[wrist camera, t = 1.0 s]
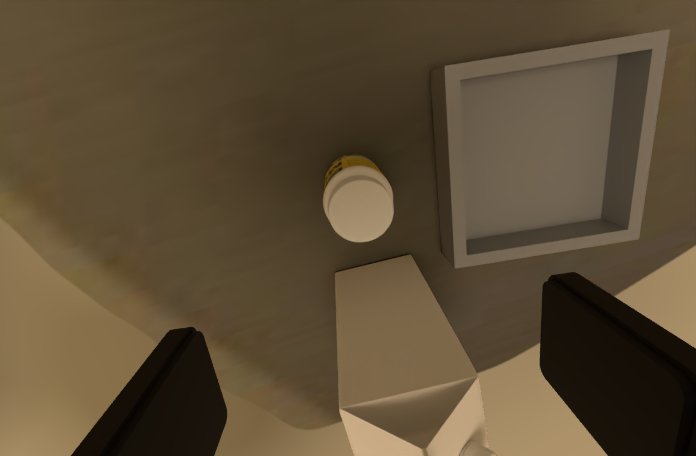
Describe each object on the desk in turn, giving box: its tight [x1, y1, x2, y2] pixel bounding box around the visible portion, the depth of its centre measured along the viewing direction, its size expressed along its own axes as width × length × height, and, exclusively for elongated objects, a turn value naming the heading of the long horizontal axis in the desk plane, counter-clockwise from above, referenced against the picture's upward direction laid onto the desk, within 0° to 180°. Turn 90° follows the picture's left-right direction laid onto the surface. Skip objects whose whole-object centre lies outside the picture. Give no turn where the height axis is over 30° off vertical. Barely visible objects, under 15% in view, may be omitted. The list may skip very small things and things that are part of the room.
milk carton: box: [335, 255, 497, 456], centre depth 23 cm, size 7×7×19 cm
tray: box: [430, 30, 670, 269], centre depth 27 cm, size 15×15×4 cm
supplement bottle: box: [323, 154, 394, 242], centre depth 24 cm, size 5×5×8 cm
